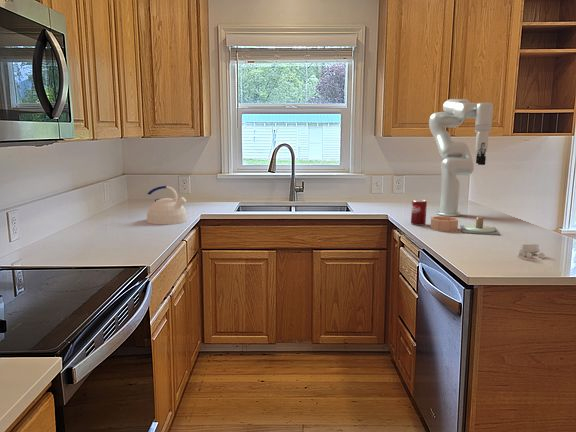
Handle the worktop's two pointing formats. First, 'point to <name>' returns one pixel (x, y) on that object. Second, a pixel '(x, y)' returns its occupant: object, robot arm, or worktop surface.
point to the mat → (479, 232)
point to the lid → (479, 226)
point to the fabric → (530, 252)
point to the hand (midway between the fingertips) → (480, 164)
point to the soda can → (418, 212)
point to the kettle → (167, 209)
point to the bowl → (444, 223)
